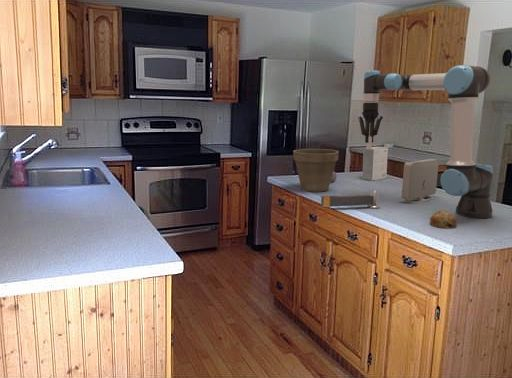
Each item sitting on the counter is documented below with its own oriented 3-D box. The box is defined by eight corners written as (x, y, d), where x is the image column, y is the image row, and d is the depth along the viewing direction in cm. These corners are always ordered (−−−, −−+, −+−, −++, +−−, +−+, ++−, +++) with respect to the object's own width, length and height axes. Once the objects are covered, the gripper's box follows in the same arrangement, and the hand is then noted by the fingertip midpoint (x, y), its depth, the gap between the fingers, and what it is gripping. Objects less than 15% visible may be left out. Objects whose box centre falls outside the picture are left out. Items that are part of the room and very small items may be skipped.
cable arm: (368, 203, 223) (369, 193, 222) (371, 204, 220) (372, 195, 219) (321, 205, 217) (321, 195, 216) (323, 206, 214) (323, 197, 213)
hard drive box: (376, 176, 305) (378, 146, 301) (386, 178, 299) (388, 147, 295) (361, 179, 295) (363, 147, 291) (371, 181, 289) (373, 149, 285)
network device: (411, 204, 228) (415, 164, 224) (396, 201, 235) (399, 162, 231) (439, 198, 244) (443, 160, 240) (424, 195, 251) (427, 158, 247)
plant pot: (282, 188, 263) (283, 150, 258) (312, 183, 279) (313, 147, 274) (316, 196, 244) (318, 154, 240) (345, 190, 261) (348, 151, 256)
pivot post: (382, 208, 220) (383, 191, 218) (370, 208, 219) (371, 192, 217) (376, 205, 225) (378, 189, 224) (365, 205, 224) (366, 189, 223)
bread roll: (435, 236, 189) (443, 221, 185) (422, 220, 197) (429, 205, 193) (456, 235, 192) (464, 220, 188) (442, 218, 200) (449, 204, 195)
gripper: (379, 102, 240) (377, 148, 244) (355, 102, 238) (353, 148, 242) (386, 102, 233) (383, 149, 237) (361, 102, 230) (359, 150, 235)
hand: (368, 149), depth 239 cm, fingers closed
